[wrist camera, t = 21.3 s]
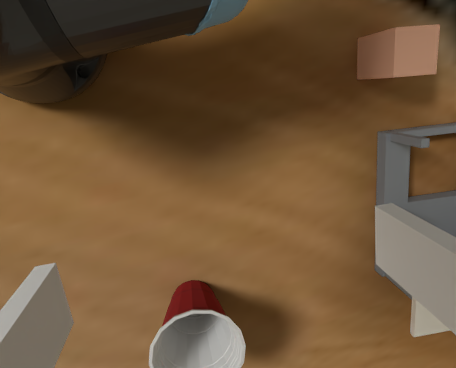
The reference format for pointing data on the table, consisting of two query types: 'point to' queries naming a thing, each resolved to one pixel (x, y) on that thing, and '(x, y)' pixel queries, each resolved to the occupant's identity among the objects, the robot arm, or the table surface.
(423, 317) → the cover
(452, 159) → the table surface
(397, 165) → the sliding door cubby
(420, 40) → the block
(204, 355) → the plastic cup
